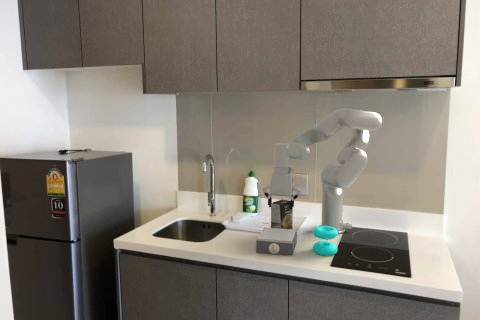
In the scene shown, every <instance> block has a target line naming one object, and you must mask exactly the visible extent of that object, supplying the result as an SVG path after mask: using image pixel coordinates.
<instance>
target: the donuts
mask: <svg viewBox="0 0 480 320" xmlns="http://www.w3.org/2000/svg"><path fill="white" fill-rule="evenodd" d="M312 234H313V235H314V236H315V238H318V239H320V241H318V242H315V243H314V244H313V245H312V250H313V252H314V253H315V254H316V255H320V256H324V257H325V256H326V257H327V256H333V255H335V254H337V253H338V251H339V250H338V246H337V245H336V244H335V243H333V242H331V241H330V240H333V239H335V238H336V237H338V235H339V234H338V231H337V229H335V228H334V227H331V226H319V225H318V226H316V227H314V228H313V230H312ZM326 240H329V241H326Z"/></svg>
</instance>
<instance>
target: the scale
mask: <svg viewBox="0 0 480 320" xmlns="http://www.w3.org/2000/svg"><path fill="white" fill-rule="evenodd" d="M297 233H298V232H297V230H296V229H279V228H271V227H266V226H265V227H263V228H262V230H261V232H260V234H259V236H257V239H256V241H255V242H256V243H255V253H256V254H257V253H258V254H267V255H269V254H271V255H278V254H279V256H291V257H292V256H293V255H294V253H295V250H296V245H297V241H298V238H297V237H298V234H297Z"/></svg>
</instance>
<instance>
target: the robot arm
mask: <svg viewBox="0 0 480 320" xmlns="http://www.w3.org/2000/svg"><path fill="white" fill-rule="evenodd" d="M382 125H383V118H382V116H381V115H380V114H379V113H377V112H374V111H368V110H367V111H366V110H360V109H356V108H355V109H354V108H344V107H343V108H338V109H336V110H334V111H333V112H332V113H330V114H328V116H327V117H325V118H323V120H321V121H320V122H319V123H317V124H316V125H314V126H312V127H310V128H308V129H306V130H304V131H302V132H301V133H299V134H297V135H296V136H294V138H292V139H290V140H289V141H288V142H287V143H286V142H277V143H275V144H274V146H273V147H274V151H273V172H272V173H271V177H270V182H269V183H270V184H269V185H267V186H265V187H263V188H262V189H261V190H262V192H263V195H264V196H265V197H266V199H267V206H268V208H269V209H271V203H273V201H272V200H273V199H272V197H273V196H276V197H277V196H279V197H289V199H290V200H289V201H290V209H292V207H293V208H294V207H295V200H296V199H297V198H298V197H299V196H300V194H301V193H302V192H301V190H300V189H298V188H296V187H294V178H293V174H292V172H294V171H295V169H294V168H292V167H291V164H292V163H291V162H292V160H296V161H304V160H306V159H307V158H309V156H310V153H311V150H310V147H309V146H311V145H313V144H319V143H323V142H326V141H328V140H330V139H331V138H332V137H334V136H335V135H336V134H337V133H338V132H339V133H340V131H341V130H343V129H344V128H347V129H348V128H350V129H352V132H351V135H350V138H349V139H348V141H347V142H346V143H345V144H344V145H343V147H342V148H341V149H340V151H339V152H338V154H337V155H336V160H337V163H338V164H339V165H340V166H339V165H337V164H332V163H331V164H326V165H324V166H323V168H322V169H321V172H320V180H321V224H319V225H318V226H331V227H334V228H335V229H337V231H338V235H339V234H343V233H345V231H346V229H353V224H351V223H350V222H344V220H343V202H344V191H343V190H346V189H348V188H349V187H351V186H352V185H353V184H354V182H355V181H356V180H357V178H359V176H360V175H361V174H362V172H363V171H364V170H365V168H366V167H367V164H368V162H369V161H368V160H369V159H368V155H367V153H366V152H365V150H366V148H367V147H368V145H369V143H370V132H375V131H377V130H379V129H380V128H381V127H382ZM268 190H269V193H268V192H267V191H268ZM294 192H295V193H296V194H295V195H293V193H294Z"/></svg>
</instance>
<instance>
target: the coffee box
mask: <svg viewBox="0 0 480 320" xmlns="http://www.w3.org/2000/svg"><path fill="white" fill-rule="evenodd" d="M290 201H291V200H289V199H288V200H287V199H278V200H277V201H272V203H271V207H270V228H279V229H293V228H294V227H293V221H294V220H293V219H294V218H293V213H294V212H293V210H294V207H292V209H290ZM293 230H294V229H293Z"/></svg>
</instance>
